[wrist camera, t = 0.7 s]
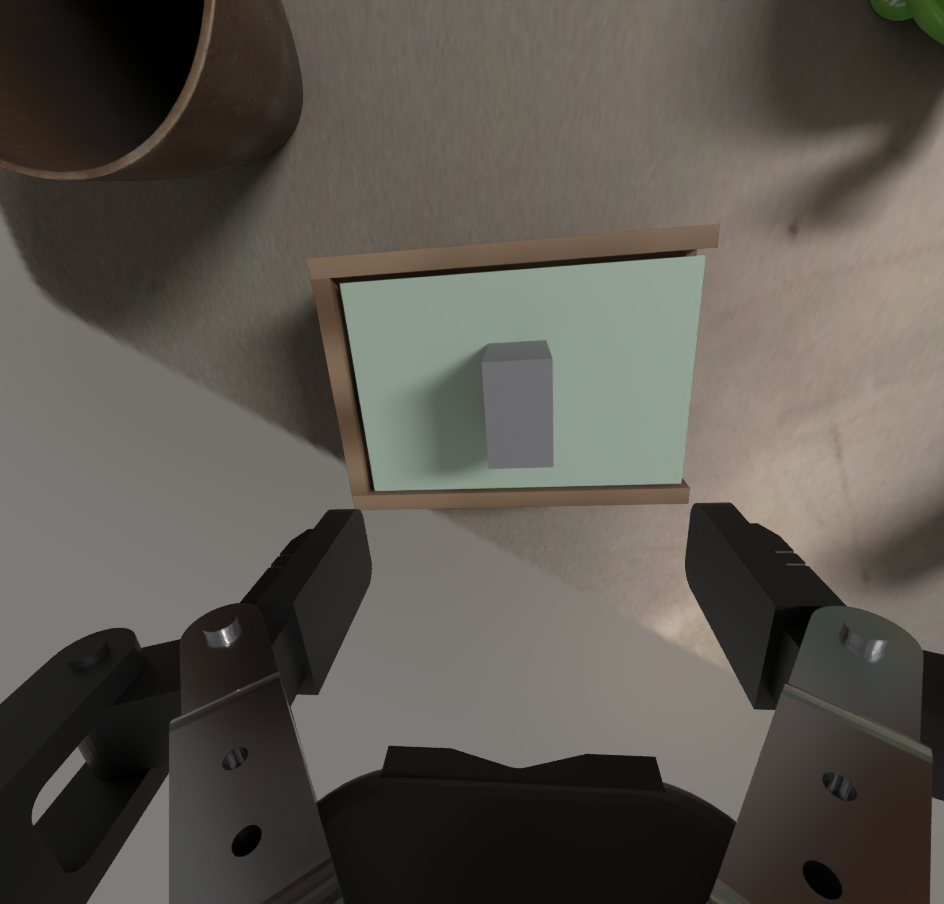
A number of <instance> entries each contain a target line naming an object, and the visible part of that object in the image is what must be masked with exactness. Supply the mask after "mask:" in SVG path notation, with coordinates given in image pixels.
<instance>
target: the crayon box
mask: <svg viewBox="0 0 944 904" xmlns="http://www.w3.org/2000/svg"><path fill="white" fill-rule="evenodd" d="M719 229H720V224H712V225H700V226H689V227H677V228H665V229H653V230H641V231H629V232H618V233H606V234H594V235H582V236H570V237H558V238H547V239H535V240H523V241H511V242H499V243H488V244H476V245H464V246H452V247H440V248H428V249H417V250H405V251H393V252H381V253H369V254H357V255H346V256H334V257H322V258H310V259H307V261H308V267H309V272H310V277H311V282H312V288H313V293H314V298H315V303H316V309H317V314H318V319H319V324H320V330H321V335H322V340H323V345H324V350H325V356H326V361H327V366H328V371H329V377H330V382H331V387H332V392H333V398H334V403H335V408H336V413H337V419H338V424H339V429H340V434H341V440H342V445H343V450H344V455H345V460H346V466H347V471H348V476H349V481H350V487H351V492H352V497H353V502H354V507H355V509H359V510H383V509H384V510H385V509H437V508H489V507H540V506H591V505H642V504H688V501H689V492H690V488H689V486H688V485H687V484H686V482H685V481H684V480H683V478H682V482H681V484H645V485H604V486H562V487H521V488H480V489H439V490H397V491H375V488H374V482H373V476H372V470H371V465H370V459H369V453H368V447H367V441H366V435H365V429H364V423H363V417H362V411H361V406H360V400H359V394H358V388H357V382H356V376H355V370H354V364H353V358H352V353H351V347H350V341H349V335H348V329H347V323H346V317H345V311H344V305H343V299H342V294H341V288H340V284H341V283H350V282H363V281H376V280H388V279H401V278H414V277H427V276H440V275H453V274H466V273H479V272H492V271H504V270H517V269H530V268H543V267H556V266H569V265H582V264H595V263H608V262H620V261H633V260H646V259H659V258H672V257H685V256H696V254H697V249H704V248H717V247H718V238H719Z"/></svg>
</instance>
